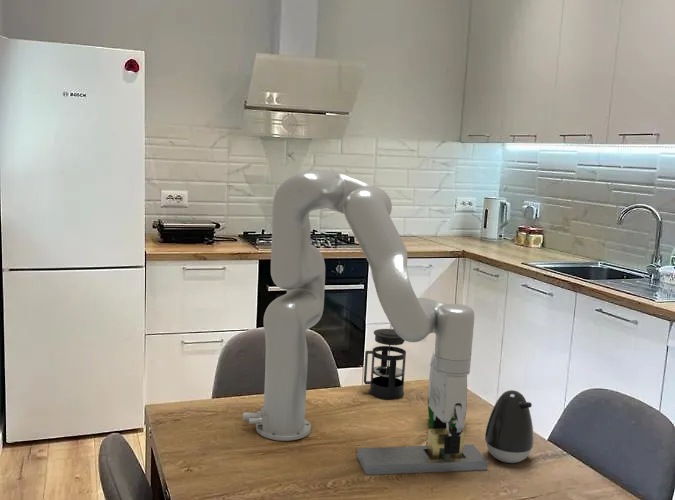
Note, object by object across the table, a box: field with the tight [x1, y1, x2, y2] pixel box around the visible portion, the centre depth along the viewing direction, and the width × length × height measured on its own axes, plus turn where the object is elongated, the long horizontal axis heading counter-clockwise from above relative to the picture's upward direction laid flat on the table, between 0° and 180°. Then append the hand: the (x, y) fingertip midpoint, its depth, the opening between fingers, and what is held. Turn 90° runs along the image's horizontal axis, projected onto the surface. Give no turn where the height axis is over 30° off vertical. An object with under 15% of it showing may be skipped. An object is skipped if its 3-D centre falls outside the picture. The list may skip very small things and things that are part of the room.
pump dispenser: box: [484, 389, 534, 464], centre depth 146 cm, size 10×10×15 cm
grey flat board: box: [356, 443, 489, 476], centre depth 142 cm, size 26×8×2 cm, turn 101°
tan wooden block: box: [426, 428, 466, 460], centre depth 143 cm, size 7×3×7 cm, turn 101°
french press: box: [363, 311, 407, 401], centre depth 181 cm, size 12×9×23 cm
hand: (445, 444), depth 142 cm, fingers open, 6 cm apart
